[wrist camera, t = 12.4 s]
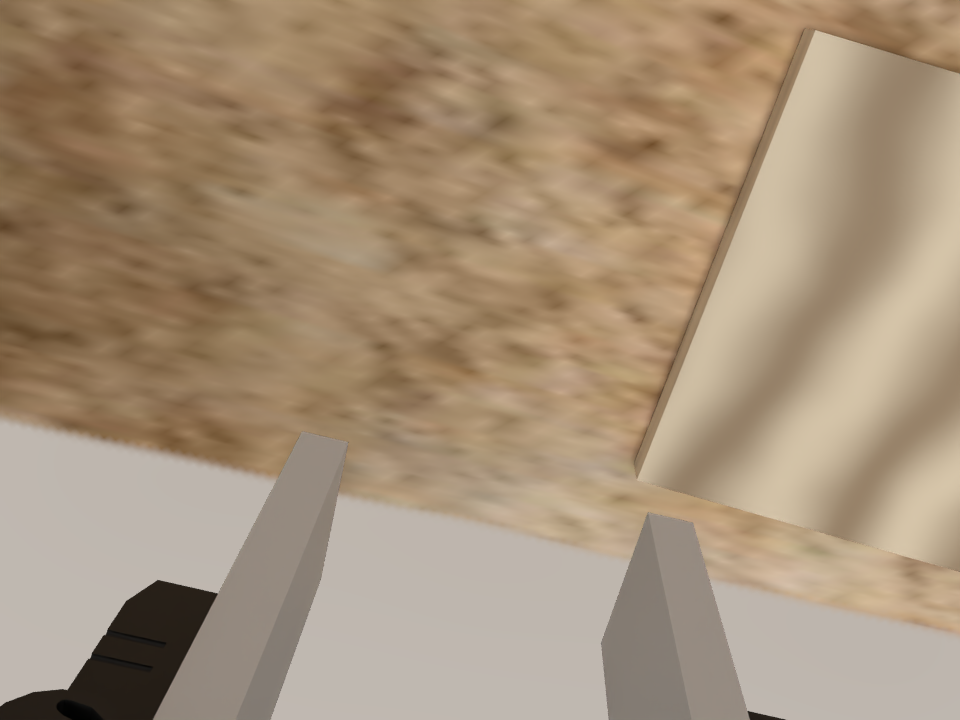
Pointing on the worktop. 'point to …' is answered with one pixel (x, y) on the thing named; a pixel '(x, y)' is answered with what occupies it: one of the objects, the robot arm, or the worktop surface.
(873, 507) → the maple board
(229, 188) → the worktop surface
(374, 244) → the worktop surface
